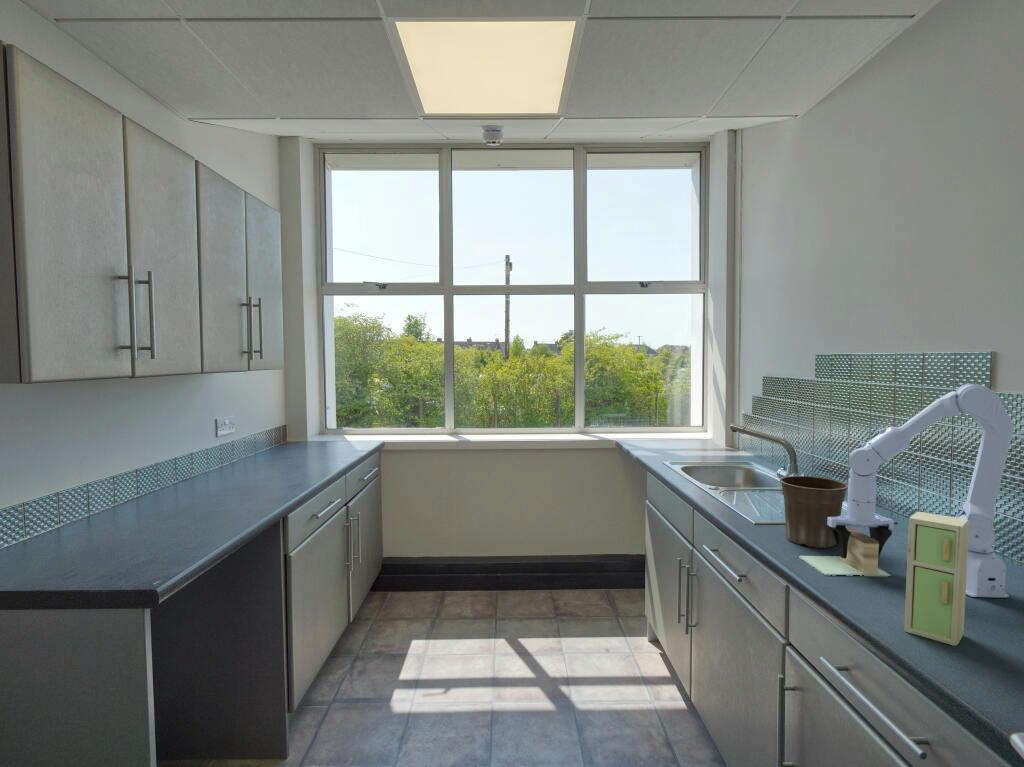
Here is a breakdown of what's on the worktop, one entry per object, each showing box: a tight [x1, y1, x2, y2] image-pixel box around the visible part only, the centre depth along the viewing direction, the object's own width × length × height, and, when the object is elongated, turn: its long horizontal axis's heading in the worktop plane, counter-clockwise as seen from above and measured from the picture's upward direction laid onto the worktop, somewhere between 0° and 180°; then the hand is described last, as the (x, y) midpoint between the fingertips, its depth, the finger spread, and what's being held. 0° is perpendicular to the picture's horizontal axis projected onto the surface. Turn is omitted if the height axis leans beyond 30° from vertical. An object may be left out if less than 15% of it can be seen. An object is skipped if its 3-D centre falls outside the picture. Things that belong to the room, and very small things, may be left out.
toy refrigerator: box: [904, 511, 969, 647], centre depth 107 cm, size 8×7×21 cm
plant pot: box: [779, 475, 848, 549], centre depth 160 cm, size 16×16×16 cm
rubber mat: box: [798, 555, 892, 577], centre depth 142 cm, size 12×15×1 cm
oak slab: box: [838, 528, 879, 574], centre depth 141 cm, size 10×3×8 cm, turn 1°
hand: (858, 557), depth 141 cm, fingers open, 7 cm apart
